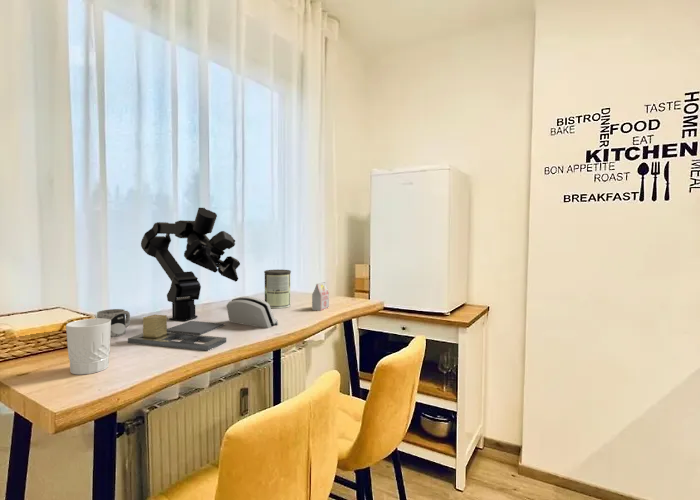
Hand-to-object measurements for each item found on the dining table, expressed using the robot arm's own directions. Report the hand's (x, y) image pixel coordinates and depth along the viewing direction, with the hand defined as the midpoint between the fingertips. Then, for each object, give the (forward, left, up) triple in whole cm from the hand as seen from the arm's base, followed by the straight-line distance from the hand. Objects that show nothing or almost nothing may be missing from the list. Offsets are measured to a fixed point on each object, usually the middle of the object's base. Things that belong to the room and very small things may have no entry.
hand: (227, 275), depth 113 cm
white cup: (-10, -35, -17) cm, 40 cm away
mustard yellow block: (-13, -13, -17) cm, 25 cm away
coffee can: (-3, +41, -17) cm, 44 cm away
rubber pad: (-11, +1, -16) cm, 20 cm away
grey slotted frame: (-6, -13, -16) cm, 22 cm away
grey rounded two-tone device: (+2, +11, -17) cm, 20 cm away
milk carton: (+15, +41, -17) cm, 46 cm away
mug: (-29, -10, -17) cm, 35 cm away
